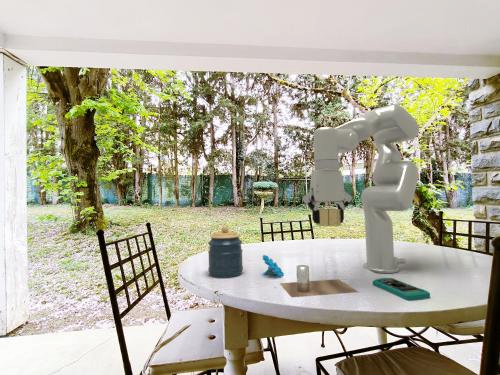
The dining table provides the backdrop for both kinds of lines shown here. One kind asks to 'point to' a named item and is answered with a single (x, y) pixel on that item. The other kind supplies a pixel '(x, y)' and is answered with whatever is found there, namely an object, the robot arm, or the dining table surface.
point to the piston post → (303, 279)
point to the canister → (225, 254)
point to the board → (319, 288)
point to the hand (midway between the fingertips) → (328, 222)
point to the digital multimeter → (401, 289)
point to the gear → (272, 266)
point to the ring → (329, 217)
